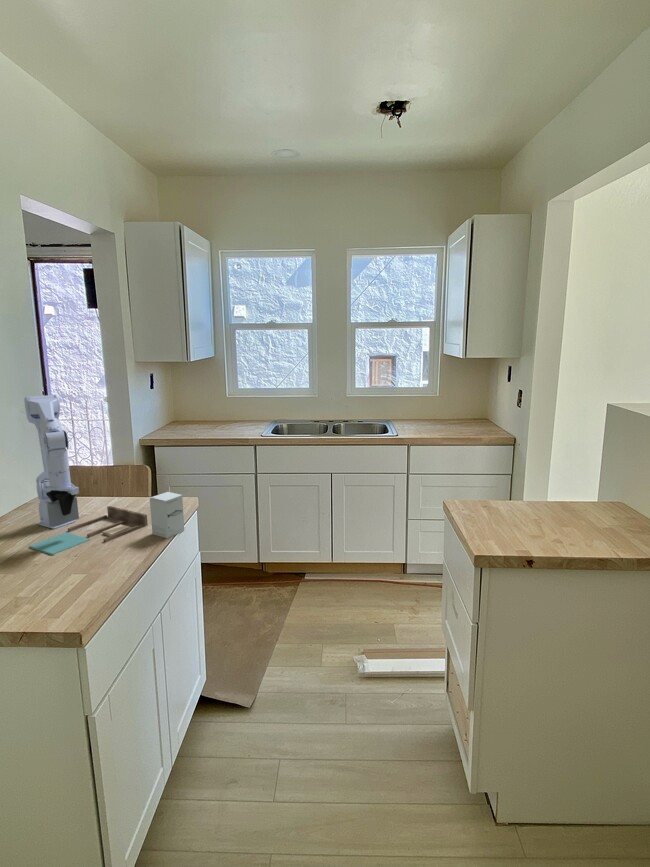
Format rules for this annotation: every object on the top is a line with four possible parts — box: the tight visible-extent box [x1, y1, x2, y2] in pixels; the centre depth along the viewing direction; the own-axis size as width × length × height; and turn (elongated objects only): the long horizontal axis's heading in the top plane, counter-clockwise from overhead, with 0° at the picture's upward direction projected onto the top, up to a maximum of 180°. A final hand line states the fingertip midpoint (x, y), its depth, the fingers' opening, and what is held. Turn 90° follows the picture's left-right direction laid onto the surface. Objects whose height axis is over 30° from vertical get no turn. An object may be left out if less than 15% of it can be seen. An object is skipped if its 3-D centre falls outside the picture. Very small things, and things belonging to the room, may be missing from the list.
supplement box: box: [149, 491, 185, 539], centre depth 154 cm, size 7×7×13 cm
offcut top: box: [101, 524, 131, 537], centre depth 156 cm, size 4×7×1 cm, turn 152°
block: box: [47, 496, 80, 527], centre depth 148 cm, size 2×8×7 cm, turn 151°
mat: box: [28, 531, 91, 556], centre depth 148 cm, size 12×12×1 cm
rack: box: [67, 505, 149, 543], centre depth 159 cm, size 19×16×4 cm
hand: (63, 513), depth 148 cm, fingers closed on block, 2 cm apart
